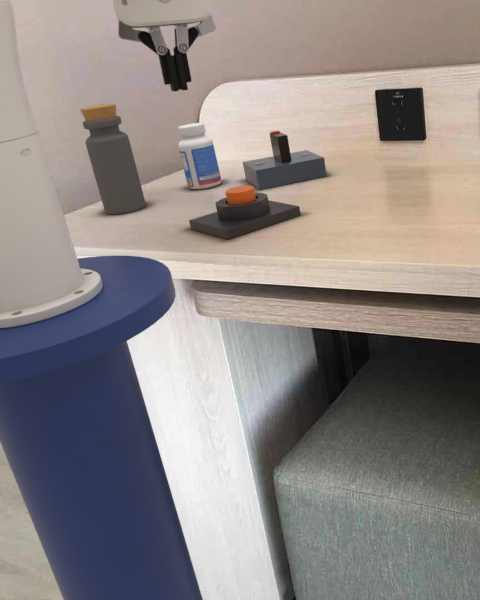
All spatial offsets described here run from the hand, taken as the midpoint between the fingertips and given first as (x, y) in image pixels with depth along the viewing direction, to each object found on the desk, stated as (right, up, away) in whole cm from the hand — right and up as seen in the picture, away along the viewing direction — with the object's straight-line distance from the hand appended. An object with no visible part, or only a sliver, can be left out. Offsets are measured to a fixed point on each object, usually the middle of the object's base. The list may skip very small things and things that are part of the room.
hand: (179, 89), depth 80 cm
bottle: (-15, -11, +22) cm, 29 cm away
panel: (+8, -5, +30) cm, 31 cm away
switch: (+6, -12, +7) cm, 15 cm away
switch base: (+6, -15, +8) cm, 18 cm away
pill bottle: (-6, -6, +31) cm, 32 cm away
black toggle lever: (+7, -2, +29) cm, 29 cm away
